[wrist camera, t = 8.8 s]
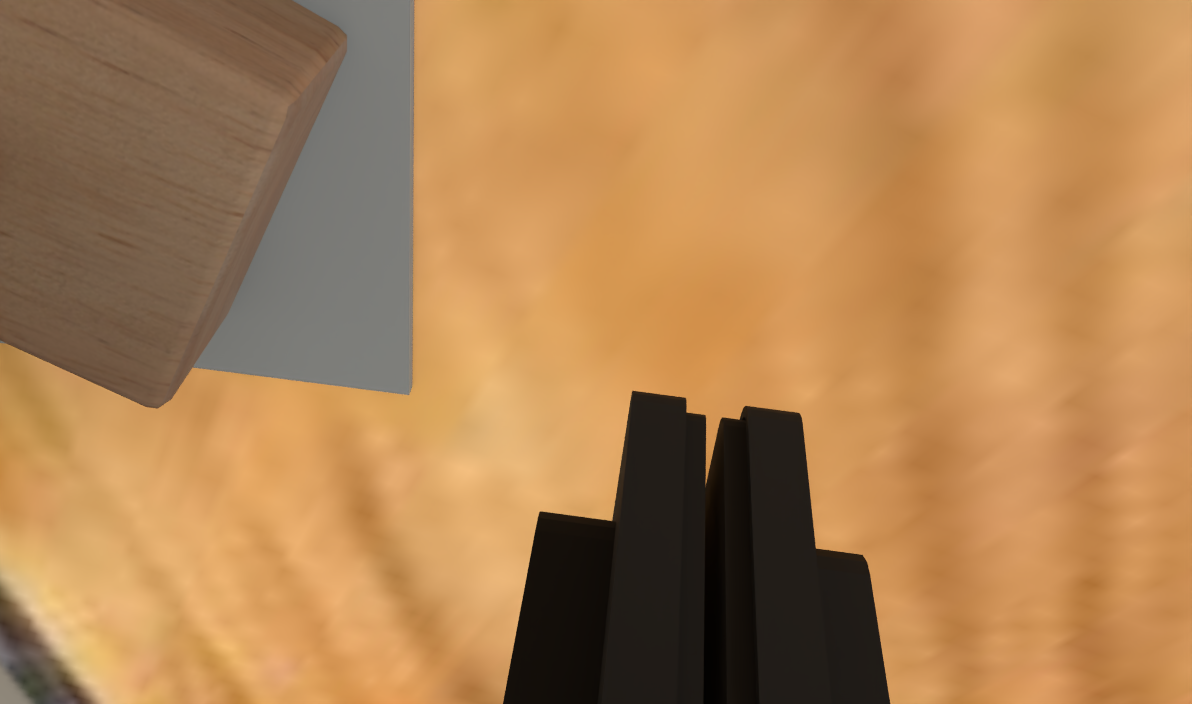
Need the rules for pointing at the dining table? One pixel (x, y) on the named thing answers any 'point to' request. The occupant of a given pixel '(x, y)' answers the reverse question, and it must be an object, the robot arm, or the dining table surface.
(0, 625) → the dining table surface
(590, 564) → the robot arm
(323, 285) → the mat
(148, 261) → the wooden block
